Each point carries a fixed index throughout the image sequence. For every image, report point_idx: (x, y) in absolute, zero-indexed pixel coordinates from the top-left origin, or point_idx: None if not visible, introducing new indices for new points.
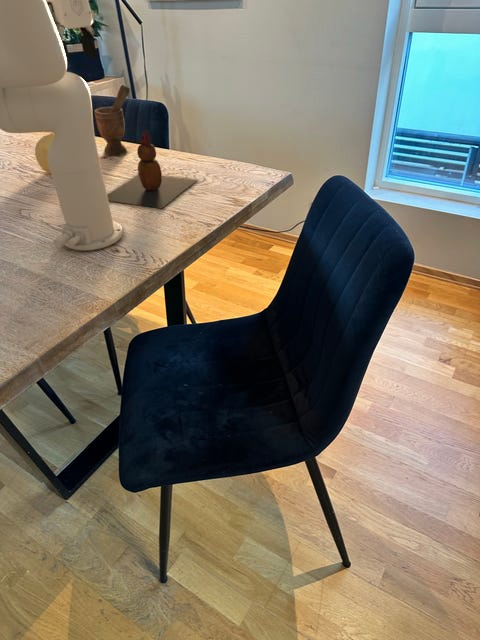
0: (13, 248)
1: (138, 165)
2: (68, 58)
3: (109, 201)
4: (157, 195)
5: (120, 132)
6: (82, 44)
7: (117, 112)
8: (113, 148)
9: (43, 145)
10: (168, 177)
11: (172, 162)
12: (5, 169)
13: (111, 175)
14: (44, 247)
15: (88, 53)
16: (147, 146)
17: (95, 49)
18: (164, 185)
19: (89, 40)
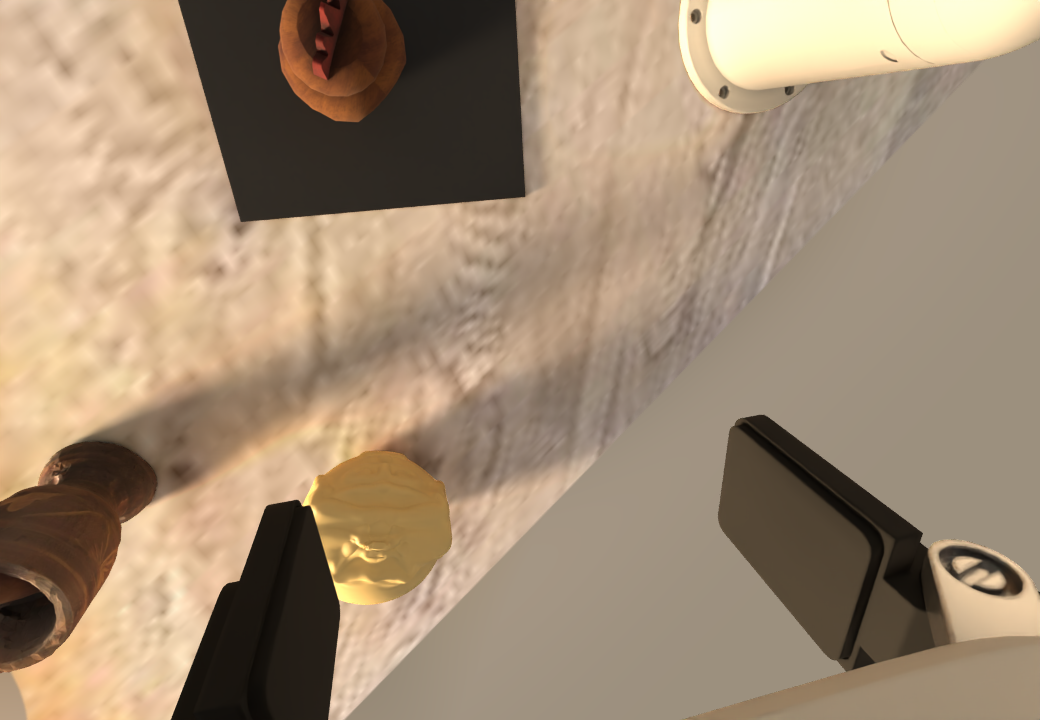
0: (832, 196)
1: (380, 90)
2: (766, 427)
3: (522, 155)
4: None
5: (37, 494)
6: (324, 708)
7: None
8: (118, 478)
9: (443, 538)
10: (203, 63)
11: (8, 174)
12: (444, 616)
13: (318, 320)
14: (821, 122)
15: (325, 578)
16: (346, 4)
17: (256, 547)
18: None
19: (288, 667)
